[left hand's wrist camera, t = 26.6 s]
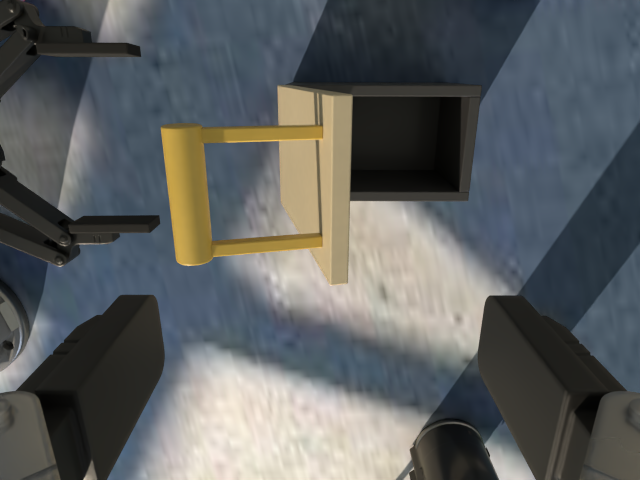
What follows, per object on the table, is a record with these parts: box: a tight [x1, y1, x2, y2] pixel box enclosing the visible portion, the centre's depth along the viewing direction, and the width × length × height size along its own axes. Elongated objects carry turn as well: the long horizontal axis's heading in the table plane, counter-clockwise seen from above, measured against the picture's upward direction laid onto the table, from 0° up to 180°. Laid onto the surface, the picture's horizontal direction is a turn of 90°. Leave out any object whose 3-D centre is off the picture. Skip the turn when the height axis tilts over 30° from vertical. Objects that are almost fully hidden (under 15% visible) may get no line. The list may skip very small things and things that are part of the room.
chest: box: [286, 82, 482, 201], centre depth 44 cm, size 16×10×11 cm, turn 90°
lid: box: [161, 85, 353, 285], centre depth 30 cm, size 17×10×9 cm
